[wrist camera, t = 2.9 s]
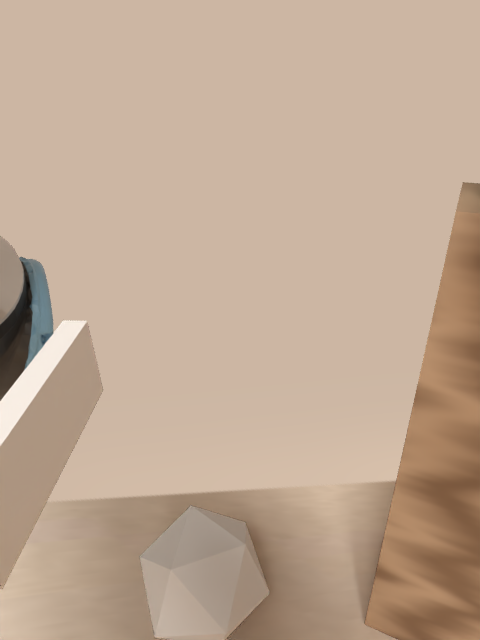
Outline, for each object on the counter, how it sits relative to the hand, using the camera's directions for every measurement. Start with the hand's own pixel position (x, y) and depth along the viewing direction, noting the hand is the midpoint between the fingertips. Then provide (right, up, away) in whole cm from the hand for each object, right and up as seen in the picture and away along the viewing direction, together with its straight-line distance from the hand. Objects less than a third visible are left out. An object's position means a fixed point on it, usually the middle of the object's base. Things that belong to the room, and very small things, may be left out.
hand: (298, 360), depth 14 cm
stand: (+13, -20, +21) cm, 31 cm away
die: (-4, -20, +20) cm, 29 cm away
